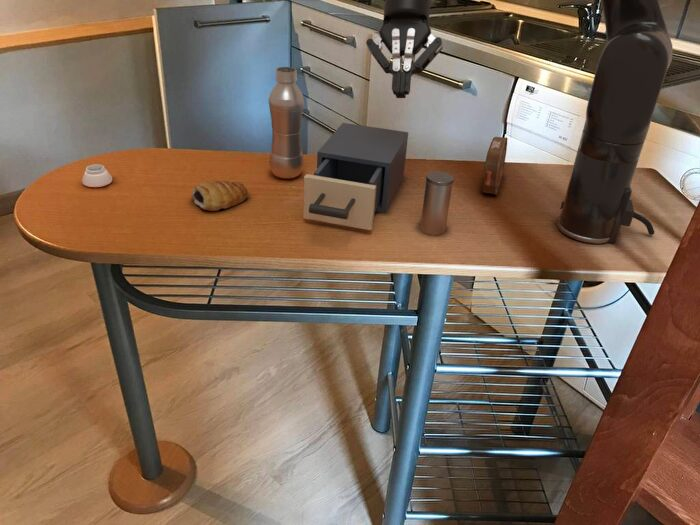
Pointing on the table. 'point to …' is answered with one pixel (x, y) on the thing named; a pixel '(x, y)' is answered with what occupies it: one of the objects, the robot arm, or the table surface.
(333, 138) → the cabinet
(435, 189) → the steel cylinder
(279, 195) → the table surface
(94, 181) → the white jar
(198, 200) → the pastry
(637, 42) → the robot arm
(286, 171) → the metallic bottle
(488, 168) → the tin
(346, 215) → the drawer
